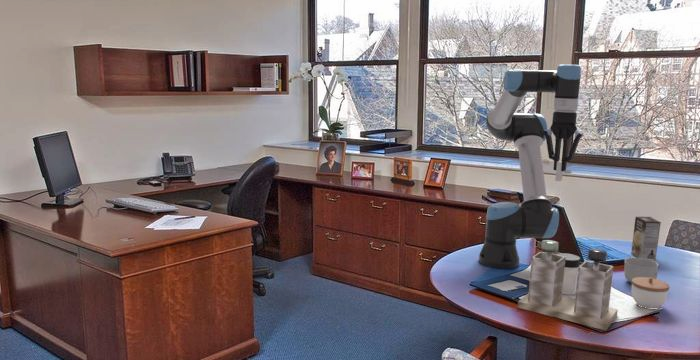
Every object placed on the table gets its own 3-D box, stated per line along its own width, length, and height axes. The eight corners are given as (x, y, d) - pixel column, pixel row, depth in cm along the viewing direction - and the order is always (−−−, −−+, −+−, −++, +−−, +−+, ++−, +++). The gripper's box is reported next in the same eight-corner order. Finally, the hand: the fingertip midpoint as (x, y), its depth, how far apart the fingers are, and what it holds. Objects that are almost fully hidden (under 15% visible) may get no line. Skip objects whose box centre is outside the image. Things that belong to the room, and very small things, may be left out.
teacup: (660, 289, 201) (663, 267, 199) (626, 286, 203) (629, 264, 201) (648, 276, 214) (650, 255, 213) (616, 273, 216) (619, 253, 215)
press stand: (517, 307, 181) (521, 258, 179) (532, 294, 193) (537, 248, 190) (606, 330, 166) (612, 277, 164) (617, 315, 178) (622, 265, 175)
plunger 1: (531, 295, 182) (536, 242, 179) (538, 289, 187) (543, 238, 184) (552, 300, 179) (557, 246, 175) (558, 294, 184) (563, 242, 181)
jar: (583, 293, 195) (587, 259, 193) (565, 296, 192) (569, 262, 189) (563, 284, 203) (566, 251, 201) (545, 287, 200) (548, 254, 197)
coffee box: (630, 253, 242) (634, 216, 240) (645, 253, 242) (650, 216, 240) (640, 260, 233) (645, 221, 231) (656, 260, 233) (661, 222, 230)
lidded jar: (622, 299, 191) (625, 272, 189) (653, 299, 192) (656, 272, 190) (641, 312, 180) (644, 283, 179) (673, 312, 181) (677, 283, 180)
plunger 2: (577, 306, 174) (583, 251, 171) (583, 300, 179) (589, 246, 176) (600, 312, 170) (606, 255, 167) (605, 305, 176) (611, 250, 172)
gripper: (542, 110, 196) (536, 179, 200) (582, 112, 189) (575, 184, 193) (549, 109, 202) (543, 176, 206) (588, 112, 195) (581, 181, 199)
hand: (558, 180), depth 200 cm, fingers closed
